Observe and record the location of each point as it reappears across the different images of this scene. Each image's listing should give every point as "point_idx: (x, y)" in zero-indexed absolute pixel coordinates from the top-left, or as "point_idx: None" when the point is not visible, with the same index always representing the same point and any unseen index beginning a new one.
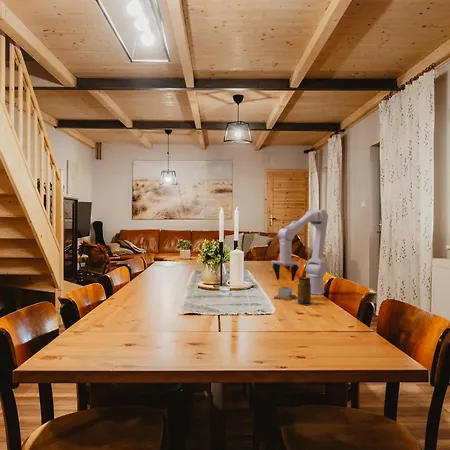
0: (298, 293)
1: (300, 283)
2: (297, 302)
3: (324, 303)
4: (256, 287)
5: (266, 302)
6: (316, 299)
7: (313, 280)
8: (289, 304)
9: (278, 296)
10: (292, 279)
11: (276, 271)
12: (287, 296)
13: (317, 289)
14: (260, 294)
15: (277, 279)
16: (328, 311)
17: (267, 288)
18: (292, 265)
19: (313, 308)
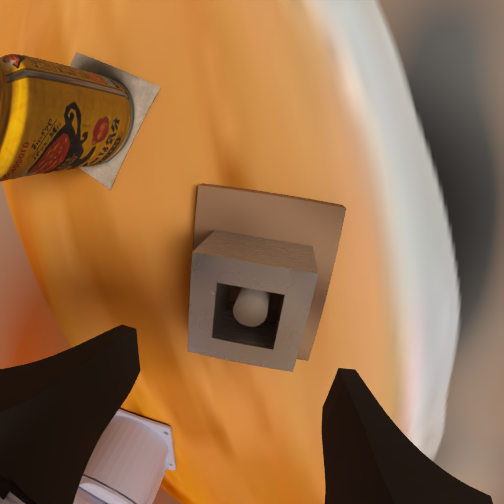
0: (83, 75)
1: (5, 63)
2: (135, 116)
3: (21, 177)
4: None
5: (365, 36)
6: (70, 283)
7: (107, 468)
8: (180, 29)
9: (309, 235)
10: (114, 329)
11: (389, 456)
12: (226, 233)
13: (109, 428)
14: (442, 345)
15: (347, 369)
16: (19, 14)
17: None
18: (15, 502)
19: (57, 18)
